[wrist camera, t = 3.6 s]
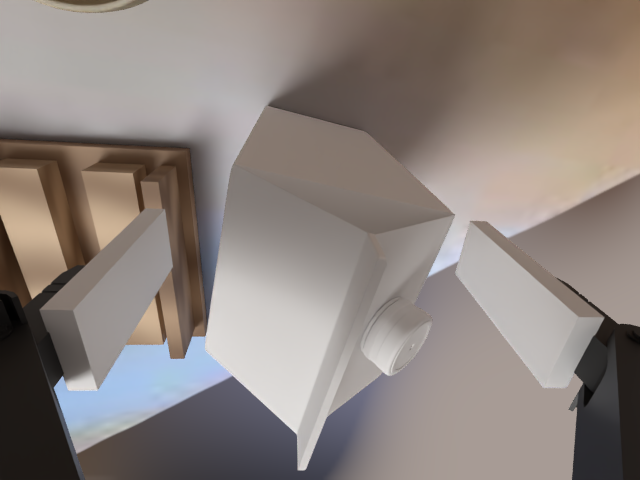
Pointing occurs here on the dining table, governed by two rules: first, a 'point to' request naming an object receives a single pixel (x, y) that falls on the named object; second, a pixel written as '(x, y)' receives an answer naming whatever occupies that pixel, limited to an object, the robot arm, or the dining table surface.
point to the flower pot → (92, 5)
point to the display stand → (100, 223)
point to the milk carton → (320, 268)
